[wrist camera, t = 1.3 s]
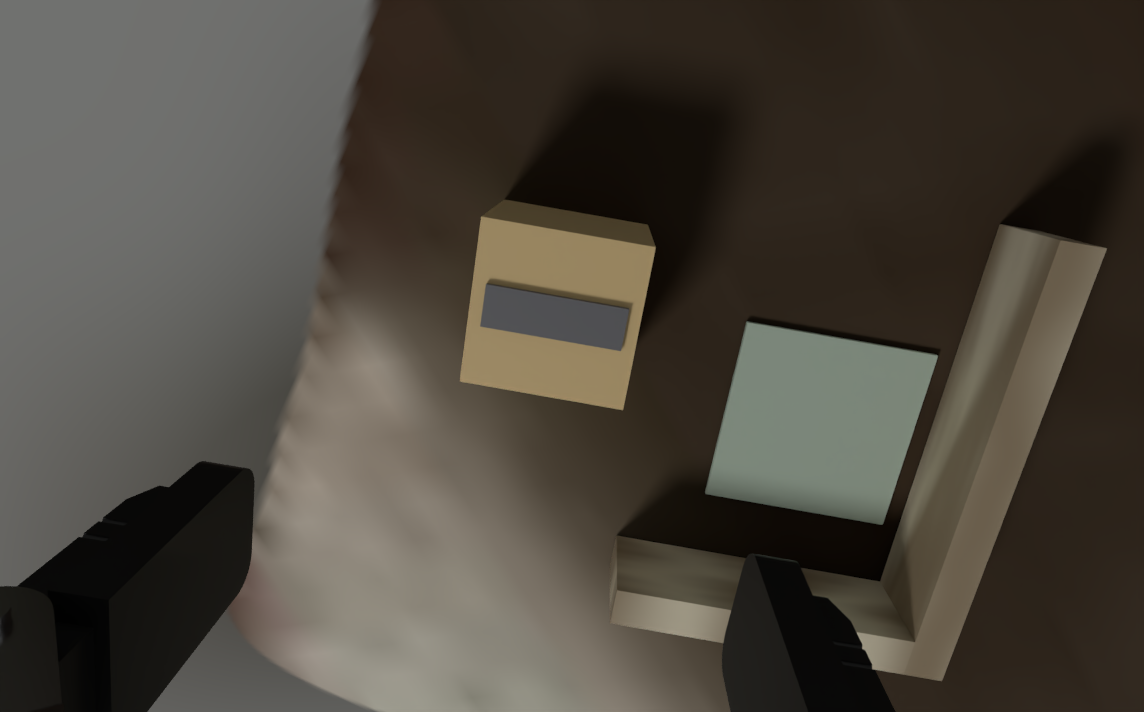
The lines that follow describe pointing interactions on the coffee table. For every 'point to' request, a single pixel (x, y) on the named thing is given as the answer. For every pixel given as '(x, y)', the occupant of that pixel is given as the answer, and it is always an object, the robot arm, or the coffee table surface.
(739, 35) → the coffee table surface
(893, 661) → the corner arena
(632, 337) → the ochre cube
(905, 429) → the pad
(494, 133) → the coffee table surface
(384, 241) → the coffee table surface
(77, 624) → the robot arm
